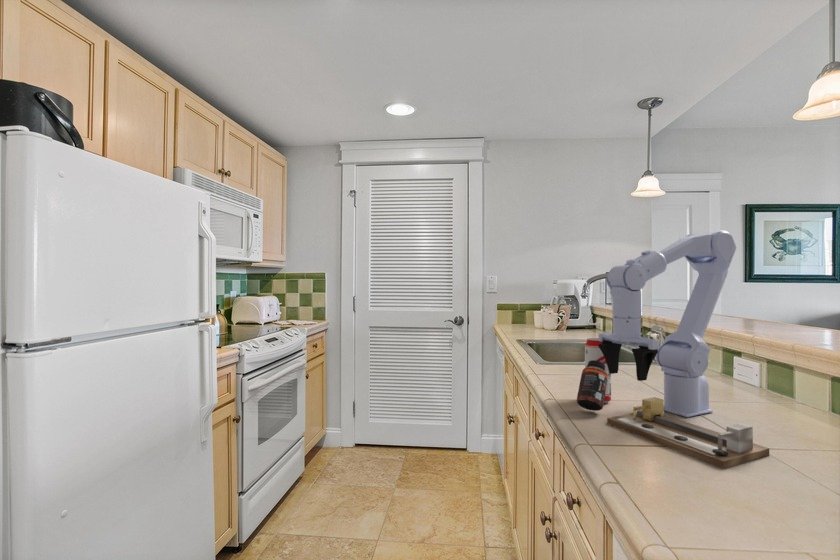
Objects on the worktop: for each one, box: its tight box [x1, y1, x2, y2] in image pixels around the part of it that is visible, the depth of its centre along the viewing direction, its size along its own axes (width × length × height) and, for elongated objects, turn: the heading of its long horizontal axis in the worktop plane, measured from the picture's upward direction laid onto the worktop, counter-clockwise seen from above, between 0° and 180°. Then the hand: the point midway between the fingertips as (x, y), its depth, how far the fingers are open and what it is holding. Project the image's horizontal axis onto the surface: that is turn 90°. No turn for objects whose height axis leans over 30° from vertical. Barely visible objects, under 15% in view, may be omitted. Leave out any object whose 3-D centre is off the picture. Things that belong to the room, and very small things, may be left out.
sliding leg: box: [632, 396, 665, 421], centre depth 89 cm, size 8×2×4 cm, turn 113°
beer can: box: [584, 337, 612, 404], centre depth 108 cm, size 6×6×16 cm
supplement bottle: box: [576, 360, 608, 412], centre depth 100 cm, size 6×6×11 cm
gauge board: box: [606, 410, 770, 470], centre depth 82 cm, size 13×24×5 cm, turn 23°
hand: (627, 376), depth 95 cm, fingers open, 7 cm apart
